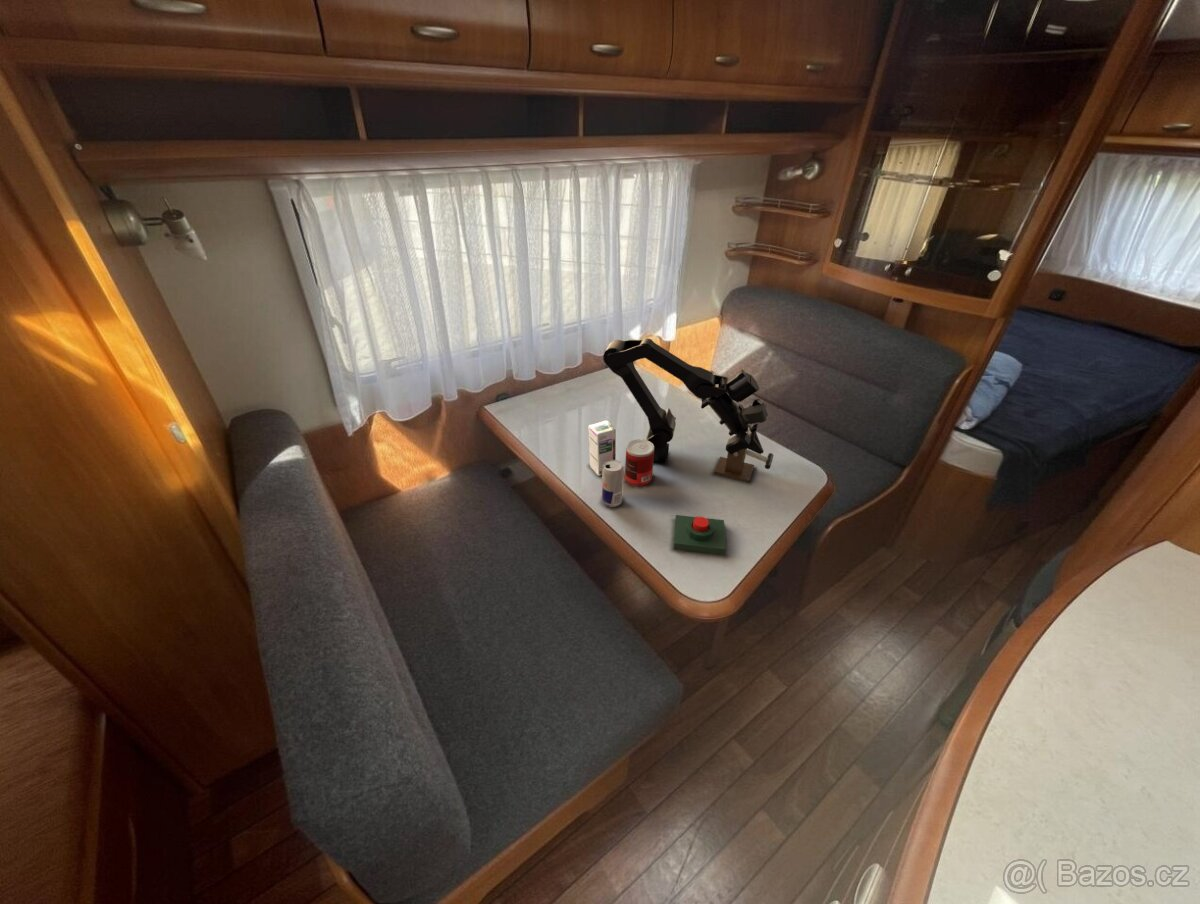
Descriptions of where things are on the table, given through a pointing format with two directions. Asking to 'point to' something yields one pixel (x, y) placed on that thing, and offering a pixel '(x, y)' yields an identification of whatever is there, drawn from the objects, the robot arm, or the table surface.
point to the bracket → (734, 466)
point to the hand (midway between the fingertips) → (761, 452)
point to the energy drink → (612, 483)
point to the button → (700, 524)
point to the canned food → (639, 462)
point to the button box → (699, 536)
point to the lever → (761, 458)
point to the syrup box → (601, 445)
